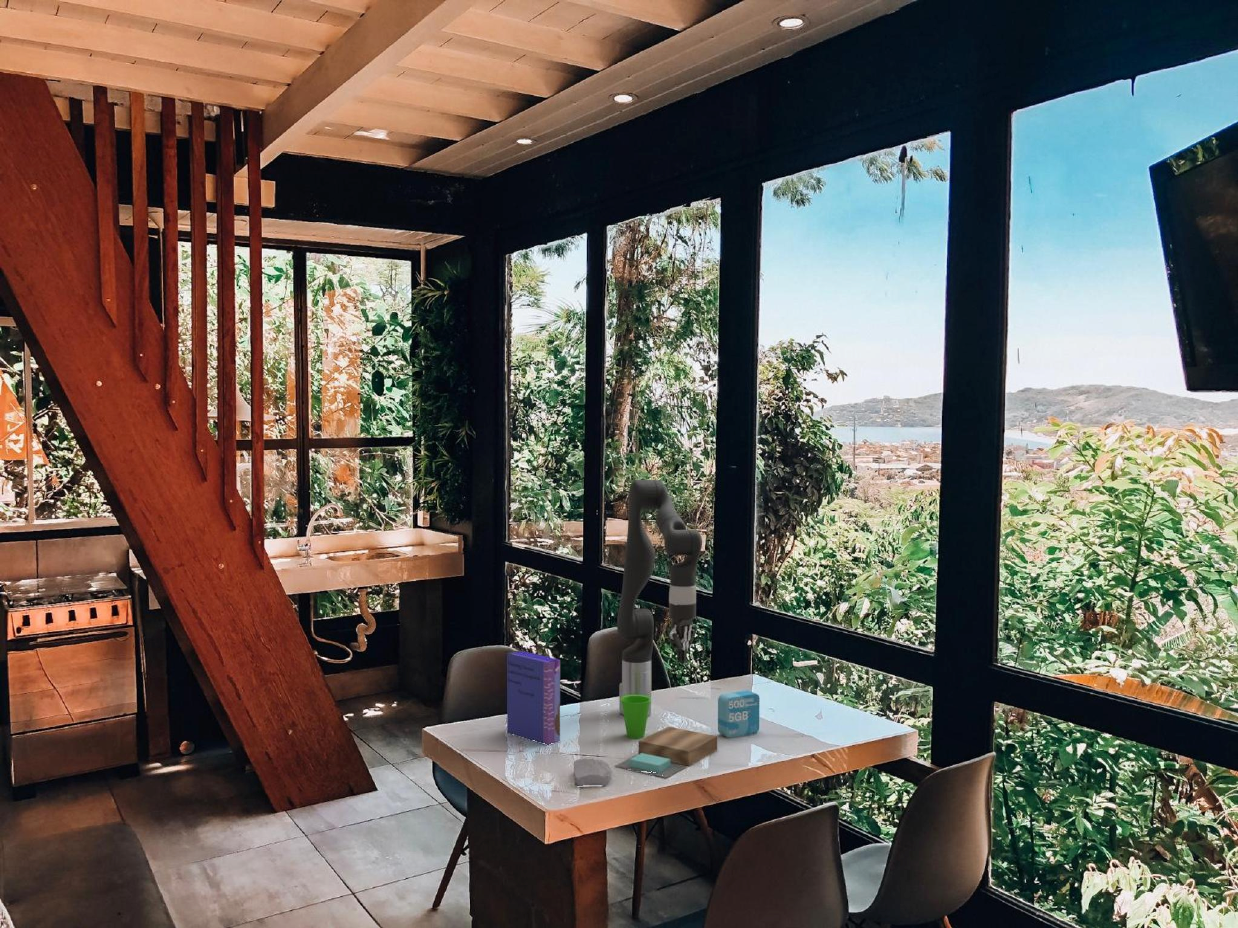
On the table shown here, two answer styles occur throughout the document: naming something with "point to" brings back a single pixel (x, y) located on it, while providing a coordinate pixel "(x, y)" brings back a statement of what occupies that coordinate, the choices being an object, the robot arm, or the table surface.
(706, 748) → the wooden block
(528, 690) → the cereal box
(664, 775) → the mat
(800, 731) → the table surface
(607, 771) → the stone block
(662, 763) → the teal flat block
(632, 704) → the cup
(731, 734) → the data package
